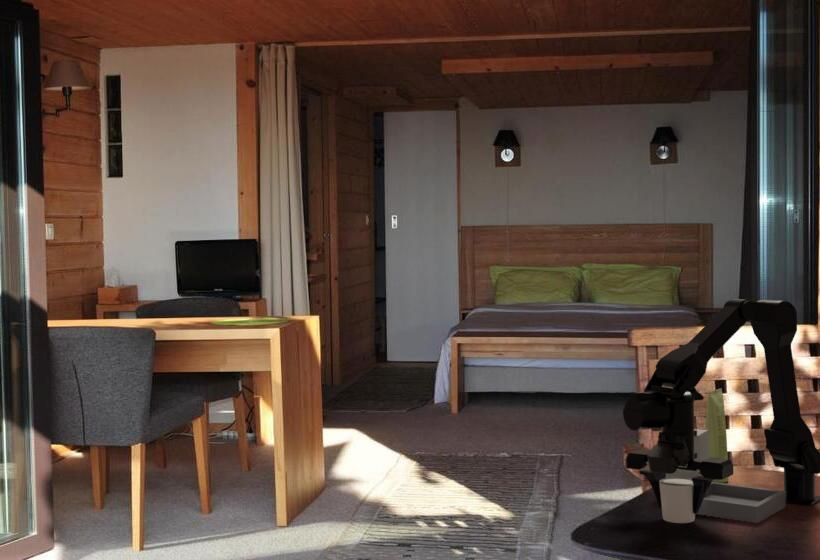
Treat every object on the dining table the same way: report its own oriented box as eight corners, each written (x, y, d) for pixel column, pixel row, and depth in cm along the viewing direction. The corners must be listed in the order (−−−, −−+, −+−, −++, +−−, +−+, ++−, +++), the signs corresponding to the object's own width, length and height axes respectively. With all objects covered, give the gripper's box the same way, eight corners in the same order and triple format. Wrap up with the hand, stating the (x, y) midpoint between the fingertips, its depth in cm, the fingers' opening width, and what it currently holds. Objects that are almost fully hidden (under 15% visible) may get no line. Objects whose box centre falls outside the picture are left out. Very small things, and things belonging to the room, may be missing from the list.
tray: (709, 496, 211) (709, 481, 211) (785, 506, 202) (785, 491, 202) (678, 511, 199) (678, 495, 199) (757, 523, 190) (757, 506, 190)
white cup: (699, 524, 189) (699, 485, 189) (660, 523, 191) (659, 484, 190) (697, 515, 196) (696, 477, 196) (658, 513, 197) (658, 476, 197)
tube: (699, 478, 228) (698, 388, 227) (722, 477, 228) (721, 387, 228) (709, 484, 222) (708, 391, 222) (732, 483, 223) (732, 390, 222)
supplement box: (710, 491, 216) (710, 429, 215) (699, 498, 210) (699, 435, 209) (675, 487, 220) (674, 426, 219) (663, 494, 213) (662, 432, 213)
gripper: (610, 427, 192) (611, 512, 193) (709, 437, 181) (710, 527, 181) (638, 419, 201) (639, 500, 201) (734, 428, 189) (734, 514, 190)
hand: (678, 510), depth 193 cm, fingers closed on white cup, 6 cm apart
